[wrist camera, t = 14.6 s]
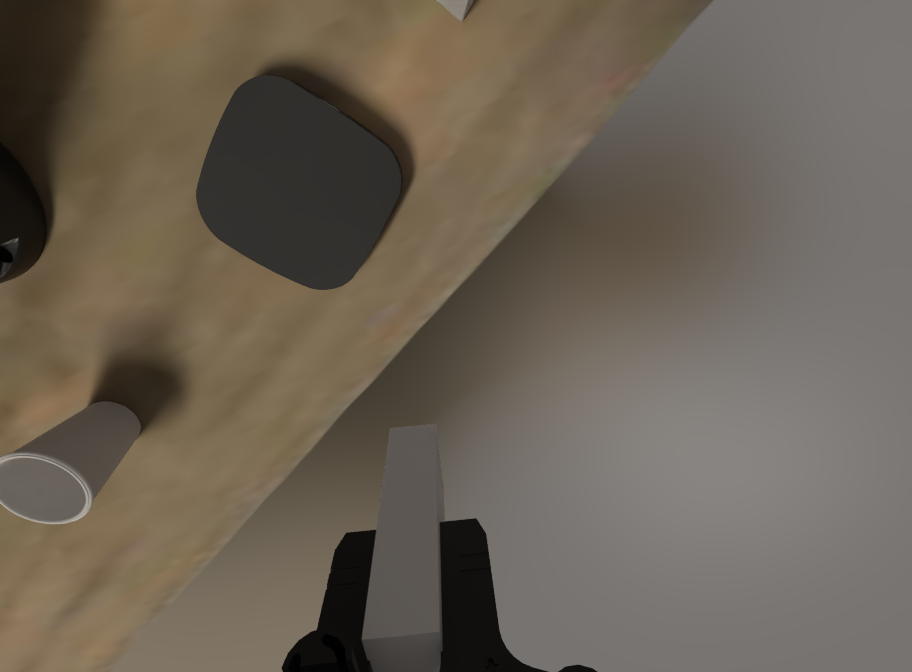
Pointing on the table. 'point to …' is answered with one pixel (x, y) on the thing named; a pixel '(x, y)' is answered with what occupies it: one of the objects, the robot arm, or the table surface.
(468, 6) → the open box
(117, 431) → the dixie cup
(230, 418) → the table surface
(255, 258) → the media streaming box
